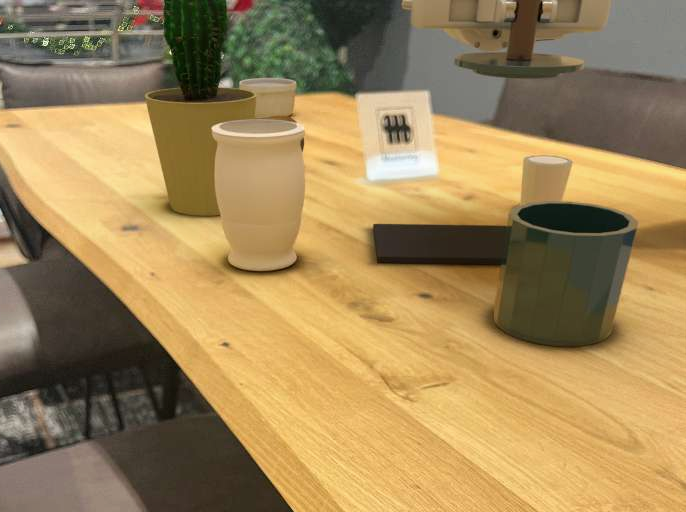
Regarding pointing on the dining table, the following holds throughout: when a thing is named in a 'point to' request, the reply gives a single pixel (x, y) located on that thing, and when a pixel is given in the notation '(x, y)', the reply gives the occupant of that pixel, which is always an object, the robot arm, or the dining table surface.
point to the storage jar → (563, 272)
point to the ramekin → (271, 95)
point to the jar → (260, 190)
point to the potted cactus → (194, 104)
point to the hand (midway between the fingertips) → (529, 11)
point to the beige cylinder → (544, 178)
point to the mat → (439, 243)
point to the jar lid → (520, 51)
